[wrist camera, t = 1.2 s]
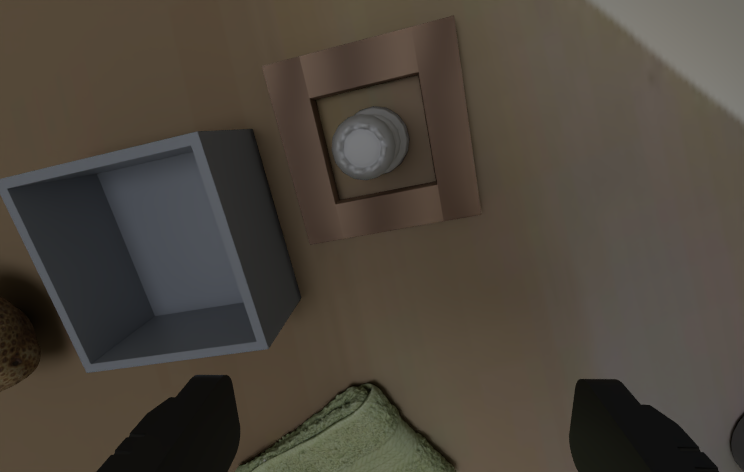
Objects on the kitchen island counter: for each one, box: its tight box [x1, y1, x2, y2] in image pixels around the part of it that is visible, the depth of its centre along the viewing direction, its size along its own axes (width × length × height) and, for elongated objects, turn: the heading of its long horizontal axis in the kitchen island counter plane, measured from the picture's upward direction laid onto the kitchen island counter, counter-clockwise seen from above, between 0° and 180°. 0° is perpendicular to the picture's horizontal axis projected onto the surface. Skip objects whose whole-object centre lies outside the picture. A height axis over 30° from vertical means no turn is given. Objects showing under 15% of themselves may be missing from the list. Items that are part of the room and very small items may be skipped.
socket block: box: [262, 16, 481, 245], centre depth 25 cm, size 12×12×2 cm
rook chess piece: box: [332, 106, 409, 180], centre depth 22 cm, size 4×4×8 cm
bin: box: [0, 129, 301, 373], centre depth 26 cm, size 13×13×7 cm
